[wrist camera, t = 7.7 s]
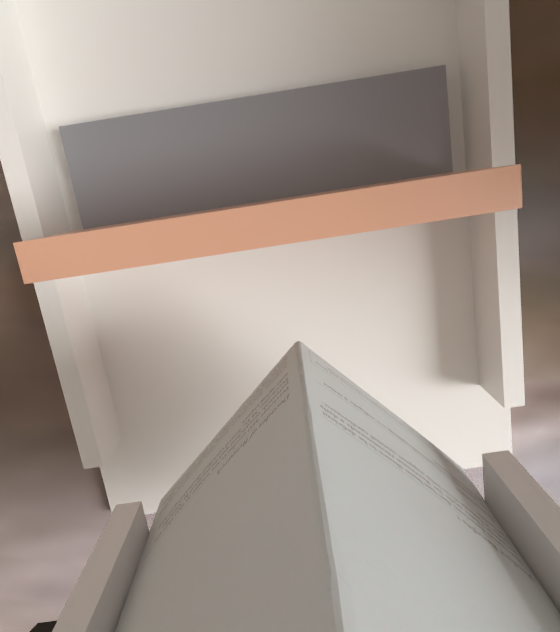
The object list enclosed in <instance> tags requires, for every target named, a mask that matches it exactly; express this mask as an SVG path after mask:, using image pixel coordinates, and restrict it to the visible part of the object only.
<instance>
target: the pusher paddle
mask: <svg viewBox="0 0 560 632" xmlns="http://www.w3.org/2000/svg"><path fill="white" fill-rule="evenodd" d="M59 131H60V135H61V139H62V144H63V148H64V152H65V156H66V160H67V164H68V169H69V173H70V177H71V181H72V185H73V189H74V194H75V198H76V202H77V206H78V210H79V214H80V219H81V223H82V227H83V229H82V230H77V231H72V232H66V233H61V234H56V235H51V236H46V237H41V238H36V239H30V240H25V241H20V242H15V243H13V245H14V249H15V253H16V256H17V260H18V263H19V267H20V271H21V274H22V278H23V282H24V284H29V283H36V282H42V281H49V280H55V279H62V278H68V277H75V276H81V275H88V274H94V273H101V272H107V271H114V270H120V269H127V268H133V267H140V266H147V265H153V264H160V263H166V262H173V261H179V260H186V259H192V258H199V257H205V256H212V255H218V254H225V253H231V252H238V251H244V250H251V249H257V248H264V247H271V246H277V245H284V244H290V243H297V242H303V241H310V240H316V239H323V238H329V237H336V236H342V235H349V234H355V233H362V232H368V231H375V230H381V229H388V228H395V227H401V226H408V225H414V224H421V223H427V222H434V221H440V220H447V219H453V218H460V217H466V216H473V215H479V214H486V213H492V212H499V211H505V210H512V209H518V208H523V205H522V178H521V164H517V165H509V166H500V167H491V168H482V169H473V170H465V171H456V172H453V167H452V152H451V137H450V123H449V108H448V93H447V78H446V65H441V66H434V67H428V68H422V69H416V70H409V71H403V72H397V73H391V74H384V75H378V76H372V77H366V78H359V79H353V80H347V81H341V82H334V83H328V84H322V85H316V86H309V87H303V88H297V89H291V90H284V91H278V92H272V93H266V94H259V95H253V96H247V97H241V98H234V99H228V100H222V101H216V102H209V103H203V104H197V105H191V106H184V107H178V108H172V109H166V110H159V111H153V112H147V113H141V114H134V115H128V116H122V117H116V118H109V119H103V120H97V121H91V122H84V123H78V124H72V125H66V126H59Z"/></svg>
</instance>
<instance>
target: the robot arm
mask: <svg viewBox="0 0 560 632" xmlns="http://www.w3.org/2000/svg"><path fill="white" fill-rule="evenodd" d="M482 463H483V480H484V496H485V502H486V504H487V505H488V507H489V508H490V510H491V511H492V513H493V514H494V516H495V517H496V519H497V521H498V522H499V524H500V525H501V527H502V528H503V530H504V531H505V533H506V534H507V535H508V537H509V538H510V540H511V541H512V543H513V544H514V546H515V547H516V549H517V550H518V552H519V553H520V555H521V556H522V558H523V559H524V561H525V562H526V563H527V565H528V566H529V568H530V569H531V571H532V572H533V574H534V575H535V577H536V578H537V580H538V581H539V583H540V584H541V586H542V587H543V589H544V590H545V592H546V593H547V595H548V596H549V597H550V599H551V600H552V602H553V603H554V605H555V606H556V608H557V609H558V611H559V612H560V508H559V506H558V505H557V504H556V503H555V502H554V501H553V500H552V499H551V497H550V496H549V495H548V494H547V493H546V492H545V491H544V490H543V488H542V487H541V486H540V485H539V484H538V483H537V482H536V481H535V480H534V478H533V477H532V476H531V475H530V474H529V473H528V472H527V471H526V469H525V468H524V467H523V466H522V465H521V464H520V463H519V462H518V460H517V459H516V458H515V457H514V456H513V455H512V454H511V453H510V452H509V450H505V451H498V452H491V453H484V454H482ZM148 535H149V530H148V526H147V522H146V517H145V513H144V509H143V505H142V501H139V502H132V503H125V504H117V505H116V506H115V508H114V510H113V512H112V514H111V516H110V518H109V520H108V522H107V524H106V526H105V528H104V530H103V532H102V534H101V536H100V538H99V540H98V542H97V544H96V546H95V548H94V550H93V552H92V554H91V556H90V557H89V559H88V561H87V563H86V565H85V567H84V569H83V571H82V573H81V575H80V577H79V579H78V581H77V583H76V585H75V587H74V589H73V591H72V593H71V595H70V597H69V599H68V601H67V603H66V605H65V607H64V609H63V611H62V613H61V615H60V617H59V619H58V621H51V622H44V623H38V624H37V625H36V626H35V627H34V628H33V629H32V630H31V631H30V632H115V629H116V626H117V623H118V620H119V617H120V615H121V612H122V609H123V606H124V604H125V601H126V598H127V595H128V592H129V588H130V586H131V583H132V580H133V577H134V574H135V572H136V569H137V566H138V563H139V560H140V558H141V555H142V552H143V549H144V546H145V544H146V541H147V538H148Z"/></svg>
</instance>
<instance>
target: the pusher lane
mask: <svg viewBox="0 0 560 632" xmlns="http://www.w3.org/2000/svg"><path fill="white" fill-rule="evenodd" d="M441 65H446V78H447V93H448V108H449V123H450V137H451V152H452V167H453V172H456V171H465V170H473V169H482V168H491V167H500V166H509V165H515V143H514V118H513V93H512V67H511V42H510V17H509V0H0V160H1V164H2V168H3V172H4V175H5V179H6V183H7V186H8V190H9V194H10V198H11V201H12V205H13V209H14V212H15V216H16V220H17V223H18V227H19V231H20V235H21V238H22V241H25V240H30V239H36V238H41V237H46V236H51V235H56V234H61V233H66V232H72V231H77V230H82V229H83V227H82V223H81V219H80V214H79V210H78V206H77V202H76V198H75V194H74V189H73V185H72V181H71V177H70V173H69V169H68V164H67V160H66V156H65V152H64V148H63V144H62V139H61V135H60V131H59V126H66V125H72V124H78V123H84V122H91V121H97V120H103V119H109V118H116V117H122V116H128V115H134V114H141V113H147V112H153V111H159V110H166V109H172V108H178V107H184V106H191V105H197V104H203V103H209V102H216V101H222V100H228V99H234V98H241V97H247V96H253V95H259V94H266V93H272V92H278V91H284V90H291V89H297V88H303V87H309V86H316V85H322V84H328V83H334V82H341V81H347V80H353V79H359V78H366V77H372V76H378V75H384V74H391V73H397V72H403V71H409V70H416V69H422V68H428V67H434V66H441ZM34 287H35V290H36V294H37V298H38V301H39V305H40V309H41V313H42V316H43V320H44V324H45V327H46V331H47V335H48V338H49V342H50V346H51V350H52V353H53V357H54V361H55V364H56V368H57V372H58V376H59V379H60V383H61V387H62V390H63V394H64V398H65V402H66V405H67V409H68V413H69V416H70V420H71V424H72V428H73V431H74V435H75V439H76V442H77V446H78V450H79V453H80V457H81V461H82V465H83V468H84V469H89V468H96V467H100V470H101V474H102V478H103V482H104V486H105V489H106V493H107V497H108V501H109V505H110V509H111V512H113V510H114V508H115V506H116V505H117V504H125V503H132V502H139V501H142V505H143V509H144V513H145V514H152V513H156V511H157V509H158V506H159V503H160V501H161V499H162V498H163V497H164V495H165V494H166V493H167V492H168V491H169V489H170V488H171V487H172V486H173V485H174V484H175V482H176V481H177V480H178V479H179V478H180V477H181V475H182V474H183V473H184V472H185V471H186V470H187V468H188V467H189V466H190V465H191V464H192V463H193V461H194V460H195V459H196V458H197V457H198V455H199V454H200V453H201V452H202V451H203V450H204V449H205V448H206V446H207V445H208V444H209V443H210V442H211V440H212V439H213V438H214V437H215V436H216V434H217V433H218V432H219V431H220V430H221V428H222V427H223V426H224V425H225V424H226V423H227V422H228V421H229V419H230V418H231V417H232V416H233V415H234V413H235V412H236V411H237V410H238V409H239V407H240V406H241V405H242V404H243V403H244V401H245V400H246V399H247V398H248V397H249V396H250V395H251V394H252V393H253V391H254V390H255V389H256V388H257V387H258V385H259V384H260V383H261V382H262V381H263V379H264V378H265V377H266V376H267V375H268V374H269V372H270V371H271V370H272V369H273V368H274V367H275V365H276V364H277V363H278V362H279V361H280V360H281V359H282V357H283V356H284V355H285V354H286V353H287V351H288V350H289V349H290V348H291V347H292V346H293V345H294V343H295V342H297V341H300V342H302V343H303V344H305V345H306V346H307V347H308V348H310V349H311V350H312V351H313V352H315V353H316V354H317V355H319V356H320V357H321V358H323V359H324V360H325V361H326V362H328V363H329V364H330V365H332V366H333V367H334V368H336V369H337V370H338V371H339V372H341V373H342V374H343V375H345V376H346V377H347V378H349V379H350V380H351V381H352V382H354V383H355V384H356V385H358V386H359V387H360V388H362V389H363V390H364V391H365V392H367V393H368V394H369V395H371V396H372V397H373V398H374V399H376V400H377V401H378V402H380V403H381V404H382V405H384V406H385V407H386V408H387V409H389V410H390V411H391V412H393V413H394V414H395V415H397V416H398V417H399V418H400V419H402V420H403V421H404V422H406V423H407V424H408V425H409V426H411V427H412V428H413V429H415V430H416V431H417V432H418V433H420V434H421V435H422V436H423V437H425V438H426V439H427V440H429V441H430V442H431V443H432V444H434V445H435V446H436V447H438V448H439V449H440V450H441V451H442V452H444V453H445V454H446V455H447V456H448V457H450V458H451V459H452V460H453V461H454V462H456V463H457V464H458V465H459V466H461V467H462V468H463V469H468V468H475V467H482V466H483V463H482V454H484V453H491V452H498V451H505V450H509V452H510V453H511V454H512V434H511V413H510V408H511V407H518V406H524V405H525V394H524V369H523V344H522V319H521V294H520V268H519V243H518V218H517V209H512V210H505V211H499V212H492V213H486V214H479V215H473V216H466V217H460V218H453V219H447V220H440V221H434V222H427V223H421V224H414V225H408V226H401V227H395V228H388V229H381V230H375V231H368V232H362V233H355V234H349V235H342V236H336V237H329V238H323V239H316V240H310V241H303V242H297V243H290V244H284V245H277V246H271V247H264V248H257V249H251V250H244V251H238V252H231V253H225V254H218V255H212V256H205V257H199V258H192V259H186V260H179V261H173V262H166V263H160V264H153V265H147V266H140V267H133V268H127V269H120V270H114V271H107V272H101V273H94V274H88V275H81V276H75V277H68V278H62V279H55V280H49V281H42V282H36V283H34Z"/></svg>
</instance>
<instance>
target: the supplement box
mask: <svg viewBox="0 0 560 632" xmlns="http://www.w3.org/2000/svg"><path fill="white" fill-rule="evenodd" d="M115 632H560V612H559V611H558V609H557V608H556V606H555V605H554V603H553V602H552V600H551V599H550V597H549V596H548V595H547V593H546V592H545V590H544V589H543V587H542V586H541V584H540V583H539V581H538V580H537V578H536V577H535V575H534V574H533V572H532V571H531V569H530V568H529V566H528V565H527V563H526V562H525V561H524V559H523V558H522V556H521V555H520V553H519V552H518V550H517V549H516V547H515V546H514V544H513V543H512V541H511V540H510V538H509V537H508V535H507V534H506V533H505V531H504V530H503V528H502V527H501V525H500V524H499V522H498V521H497V519H496V517H495V516H494V514H493V513H492V511H491V510H490V508H489V507H488V505H487V504H486V502H485V501H484V499H483V497H482V496H481V494H480V493H479V491H478V490H477V488H476V487H475V485H474V484H473V482H472V481H471V479H470V478H469V476H468V475H467V473H466V472H465V470H464V469H463V468H462V467H461V466H459V465H458V464H457V463H456V462H454V461H453V460H452V459H451V458H450V457H448V456H447V455H446V454H445V453H444V452H442V451H441V450H440V449H439V448H438V447H436V446H435V445H434V444H432V443H431V442H430V441H429V440H427V439H426V438H425V437H423V436H422V435H421V434H420V433H418V432H417V431H416V430H415V429H413V428H412V427H411V426H409V425H408V424H407V423H406V422H404V421H403V420H402V419H400V418H399V417H398V416H397V415H395V414H394V413H393V412H391V411H390V410H389V409H387V408H386V407H385V406H384V405H382V404H381V403H380V402H378V401H377V400H376V399H374V398H373V397H372V396H371V395H369V394H368V393H367V392H365V391H364V390H363V389H362V388H360V387H359V386H358V385H356V384H355V383H354V382H352V381H351V380H350V379H349V378H347V377H346V376H345V375H343V374H342V373H341V372H339V371H338V370H337V369H336V368H334V367H333V366H332V365H330V364H329V363H328V362H326V361H325V360H324V359H323V358H321V357H320V356H319V355H317V354H316V353H315V352H313V351H312V350H311V349H310V348H308V347H307V346H306V345H305V344H303V343H302V342H300V341H297V342H295V343H294V345H293V346H292V347H291V348H290V349H289V350H288V351H287V353H286V354H285V355H284V356H283V357H282V359H281V360H280V361H279V362H278V363H277V364H276V365H275V367H274V368H273V369H272V370H271V371H270V372H269V374H268V375H267V376H266V377H265V378H264V379H263V381H262V382H261V383H260V384H259V385H258V387H257V388H256V389H255V390H254V391H253V393H252V394H251V395H250V396H249V397H248V398H247V399H246V400H245V401H244V403H243V404H242V405H241V406H240V407H239V409H238V410H237V411H236V412H235V413H234V415H233V416H232V417H231V418H230V419H229V421H228V422H227V423H226V424H225V425H224V426H223V427H222V428H221V430H220V431H219V432H218V433H217V434H216V436H215V437H214V438H213V439H212V440H211V442H210V443H209V444H208V445H207V446H206V448H205V449H204V450H203V451H202V452H201V453H200V454H199V455H198V457H197V458H196V459H195V460H194V461H193V463H192V464H191V465H190V466H189V467H188V468H187V470H186V471H185V472H184V473H183V474H182V475H181V477H180V478H179V479H178V480H177V481H176V482H175V484H174V485H173V486H172V487H171V488H170V489H169V491H168V492H167V493H166V494H165V495H164V497H163V498H162V499H161V501H160V503H159V506H158V509H157V511H156V514H155V518H154V521H153V524H152V526H151V529H150V532H149V535H148V538H147V541H146V544H145V546H144V549H143V552H142V555H141V558H140V560H139V563H138V566H137V569H136V572H135V574H134V577H133V580H132V583H131V586H130V588H129V592H128V595H127V598H126V601H125V604H124V606H123V609H122V612H121V615H120V617H119V620H118V623H117V626H116V629H115Z"/></svg>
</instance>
